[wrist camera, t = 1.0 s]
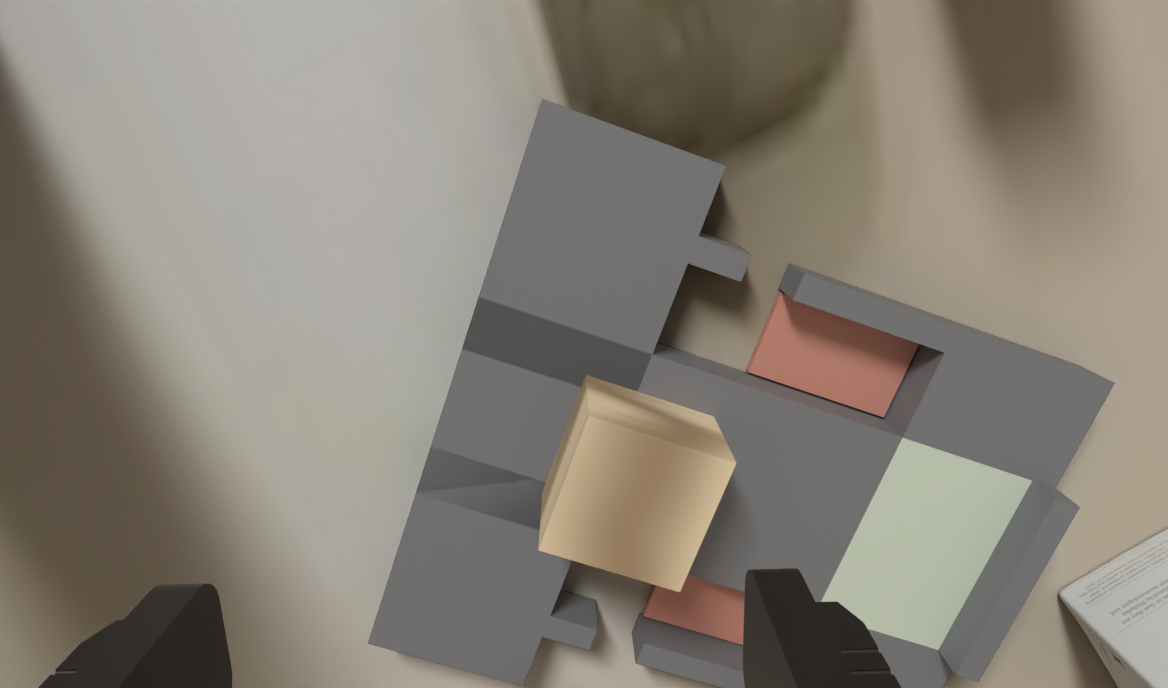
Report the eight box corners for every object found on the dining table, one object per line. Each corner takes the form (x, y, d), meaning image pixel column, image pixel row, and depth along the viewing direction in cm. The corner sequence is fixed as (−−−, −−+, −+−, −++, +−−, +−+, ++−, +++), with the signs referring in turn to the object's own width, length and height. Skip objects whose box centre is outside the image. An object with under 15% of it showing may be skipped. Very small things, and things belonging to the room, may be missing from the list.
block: (542, 493, 30) (538, 550, 26) (585, 375, 28) (588, 416, 24) (665, 531, 30) (679, 592, 26) (714, 416, 29) (736, 463, 25)
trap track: (379, 612, 33) (358, 669, 30) (543, 100, 27) (540, 97, 24) (869, 750, 36) (900, 816, 32) (1112, 307, 30) (1181, 331, 27)
